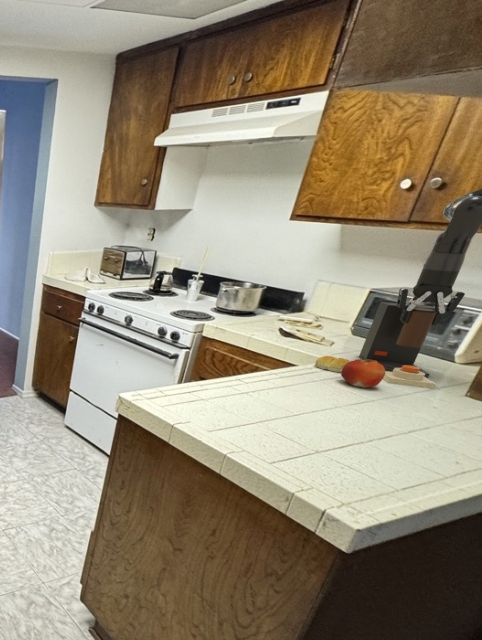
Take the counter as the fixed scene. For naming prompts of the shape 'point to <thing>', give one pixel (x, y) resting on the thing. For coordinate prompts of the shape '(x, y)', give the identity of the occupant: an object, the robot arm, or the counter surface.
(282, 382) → the counter surface
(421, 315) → the brown wooden block
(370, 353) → the dark grey orange-tab panel
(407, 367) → the power button
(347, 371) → the tomato
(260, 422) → the counter surface
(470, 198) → the robot arm
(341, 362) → the bread roll
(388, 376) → the switch block
